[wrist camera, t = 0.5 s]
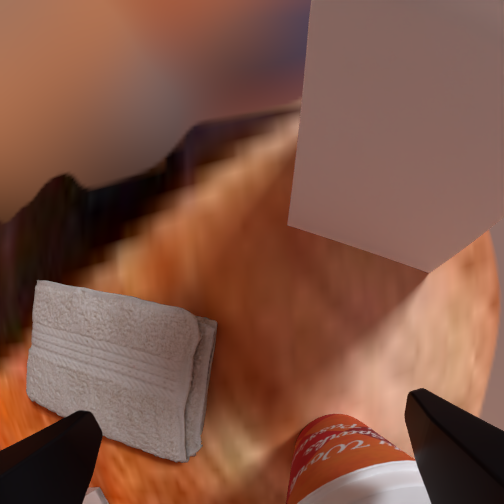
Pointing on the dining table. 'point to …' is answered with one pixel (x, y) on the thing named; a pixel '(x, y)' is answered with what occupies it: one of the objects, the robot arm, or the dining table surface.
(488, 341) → the dining table surface
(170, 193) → the dining table surface
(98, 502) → the dish
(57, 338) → the washcloth
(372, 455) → the paper cup
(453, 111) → the milk
